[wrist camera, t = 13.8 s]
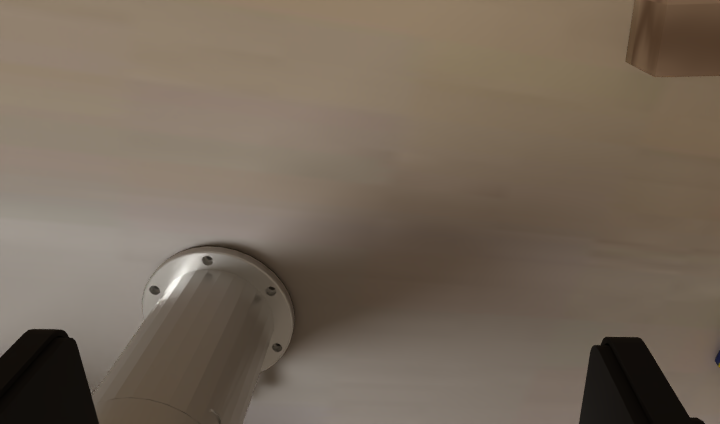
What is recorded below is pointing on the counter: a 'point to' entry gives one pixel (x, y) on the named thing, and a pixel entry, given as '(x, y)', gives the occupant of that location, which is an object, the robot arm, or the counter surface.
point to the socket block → (675, 37)
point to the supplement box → (718, 359)
